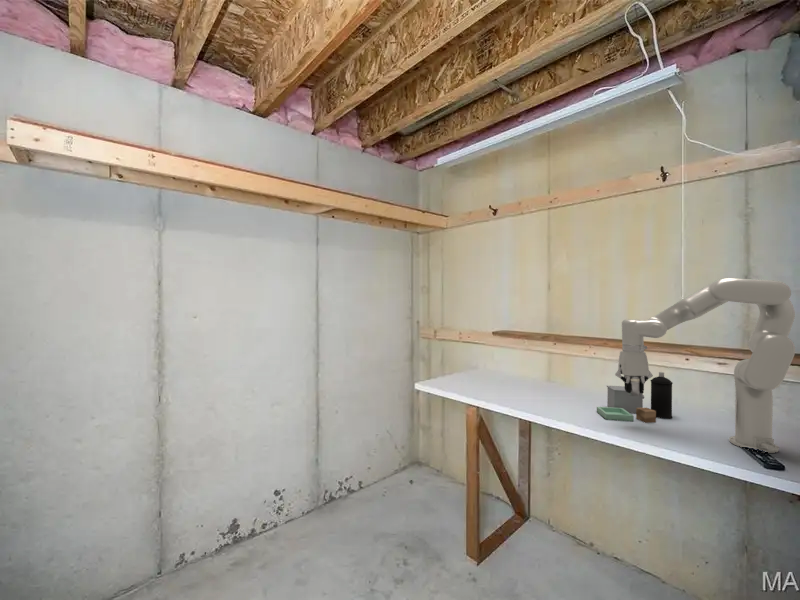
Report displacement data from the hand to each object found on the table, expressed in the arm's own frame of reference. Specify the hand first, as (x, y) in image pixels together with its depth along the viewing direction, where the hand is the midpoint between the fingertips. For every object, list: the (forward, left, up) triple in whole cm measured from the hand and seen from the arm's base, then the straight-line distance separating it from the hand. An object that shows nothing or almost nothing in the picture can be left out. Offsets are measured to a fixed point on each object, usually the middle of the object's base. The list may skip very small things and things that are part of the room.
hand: (634, 391), depth 146 cm
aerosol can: (+16, -18, -15) cm, 28 cm away
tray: (+11, +3, -14) cm, 18 cm away
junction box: (+22, -5, -14) cm, 27 cm away
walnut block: (+8, -8, -14) cm, 19 cm away
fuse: (0, 0, -1) cm, 1 cm away
